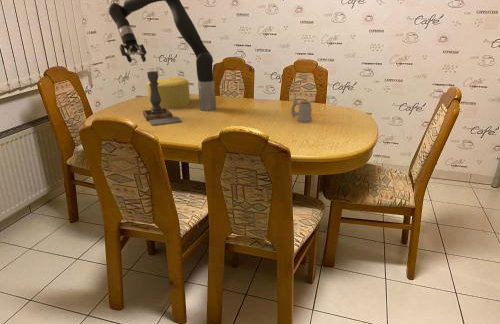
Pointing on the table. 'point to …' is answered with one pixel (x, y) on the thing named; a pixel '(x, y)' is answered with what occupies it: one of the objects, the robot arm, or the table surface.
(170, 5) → the robot arm
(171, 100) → the cheese
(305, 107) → the mug
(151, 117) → the walnut frame
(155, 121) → the rubber mat
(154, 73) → the candle holder
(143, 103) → the table surface
